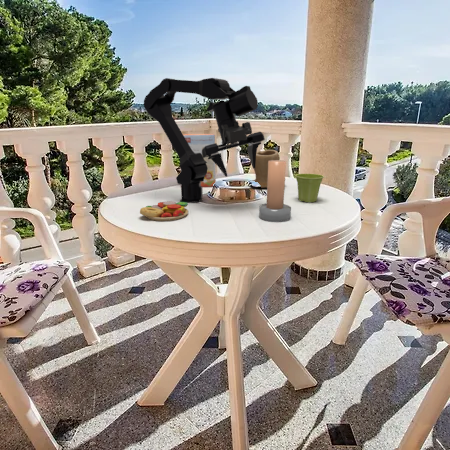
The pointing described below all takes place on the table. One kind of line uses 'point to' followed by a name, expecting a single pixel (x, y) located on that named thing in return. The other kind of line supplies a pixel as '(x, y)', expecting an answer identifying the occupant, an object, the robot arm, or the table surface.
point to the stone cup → (264, 165)
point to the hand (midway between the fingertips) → (240, 172)
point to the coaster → (274, 213)
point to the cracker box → (197, 145)
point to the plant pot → (308, 186)
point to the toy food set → (165, 211)
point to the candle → (276, 184)
